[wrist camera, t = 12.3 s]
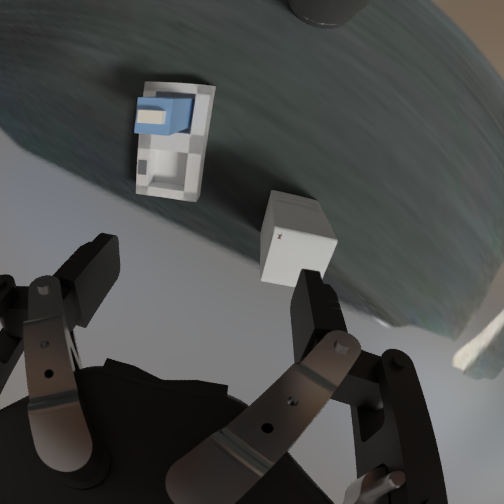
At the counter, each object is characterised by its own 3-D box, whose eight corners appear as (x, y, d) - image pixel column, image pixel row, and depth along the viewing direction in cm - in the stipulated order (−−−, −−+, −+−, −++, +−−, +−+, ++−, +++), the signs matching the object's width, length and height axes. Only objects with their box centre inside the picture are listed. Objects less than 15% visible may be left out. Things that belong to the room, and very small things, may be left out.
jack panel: (153, 82, 34) (144, 81, 31) (215, 86, 34) (211, 85, 31) (143, 187, 41) (135, 193, 39) (200, 195, 42) (195, 202, 39)
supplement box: (259, 233, 45) (257, 281, 34) (271, 188, 41) (273, 224, 30) (305, 243, 45) (317, 293, 34) (320, 200, 42) (339, 240, 31)
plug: (167, 96, 34) (134, 97, 25) (195, 98, 34) (170, 99, 25) (163, 123, 36) (130, 134, 27) (191, 126, 36) (165, 137, 27)
